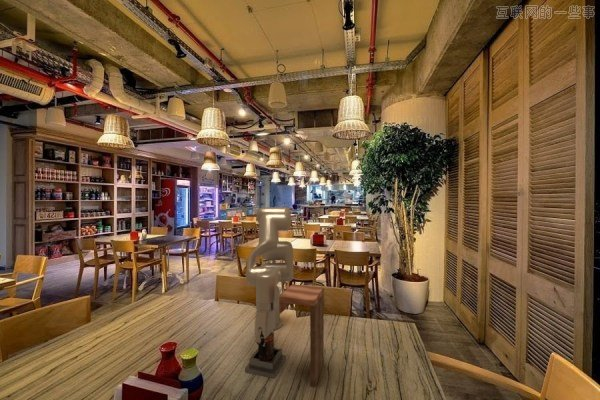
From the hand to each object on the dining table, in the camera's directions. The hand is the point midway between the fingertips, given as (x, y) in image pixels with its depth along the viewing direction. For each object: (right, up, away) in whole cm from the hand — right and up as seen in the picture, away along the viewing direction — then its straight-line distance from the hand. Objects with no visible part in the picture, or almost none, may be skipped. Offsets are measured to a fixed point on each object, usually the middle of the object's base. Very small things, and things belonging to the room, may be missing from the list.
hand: (266, 350), depth 105 cm
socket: (0, -6, 0) cm, 6 cm away
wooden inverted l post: (+14, -6, -4) cm, 16 cm away
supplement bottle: (0, -3, 0) cm, 3 cm away
